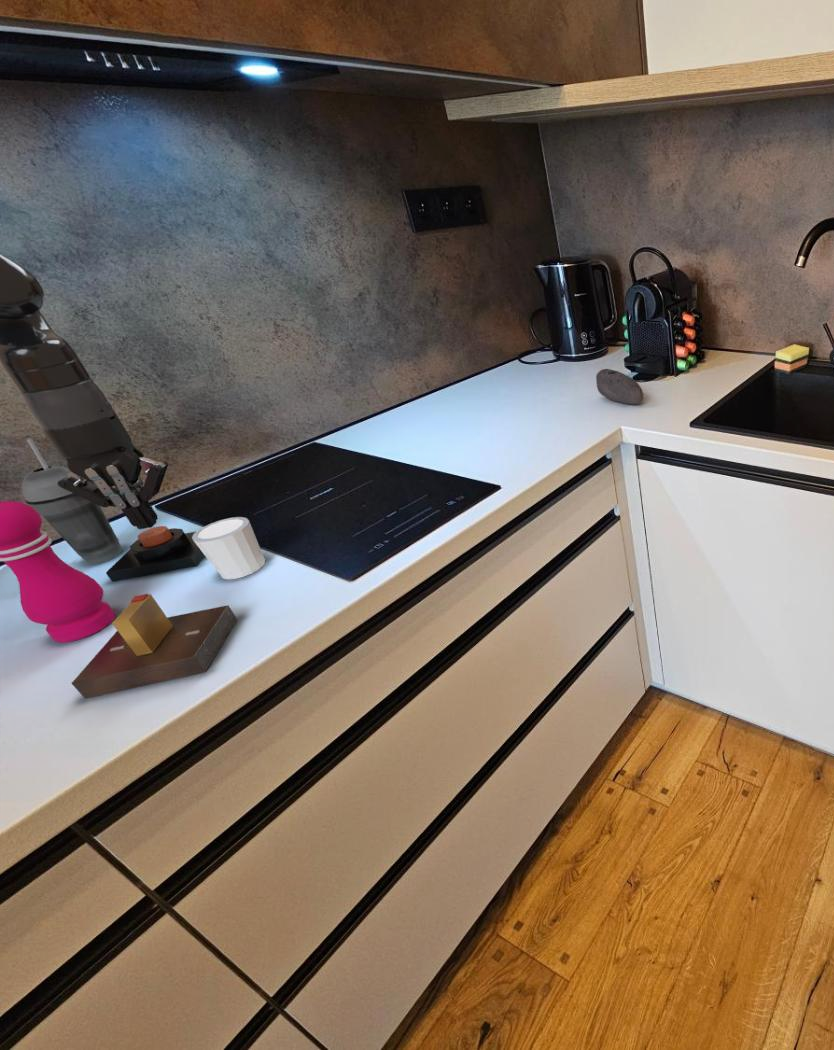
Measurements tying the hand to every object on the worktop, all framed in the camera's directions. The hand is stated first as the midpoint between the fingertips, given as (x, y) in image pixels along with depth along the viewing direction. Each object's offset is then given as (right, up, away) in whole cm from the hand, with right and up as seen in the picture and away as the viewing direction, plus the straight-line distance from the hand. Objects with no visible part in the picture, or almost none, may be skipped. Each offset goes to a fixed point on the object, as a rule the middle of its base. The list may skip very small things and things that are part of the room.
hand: (148, 525), depth 88 cm
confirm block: (0, -5, +3) cm, 6 cm away
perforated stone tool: (+65, +30, +53) cm, 89 cm away
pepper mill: (+2, -14, -11) cm, 17 cm away
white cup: (+15, -7, -1) cm, 16 cm away
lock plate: (+18, -16, -17) cm, 30 cm away
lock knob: (+18, -14, -18) cm, 29 cm away
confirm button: (0, -2, +2) cm, 3 cm away
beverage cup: (-12, -5, +5) cm, 14 cm away
